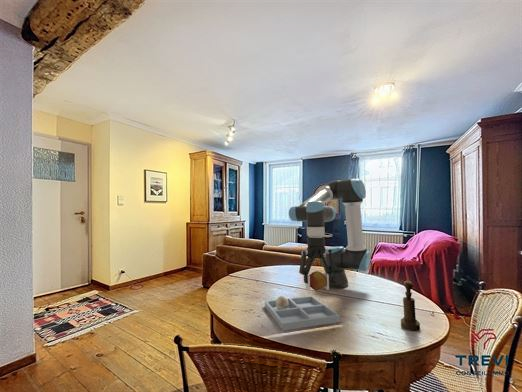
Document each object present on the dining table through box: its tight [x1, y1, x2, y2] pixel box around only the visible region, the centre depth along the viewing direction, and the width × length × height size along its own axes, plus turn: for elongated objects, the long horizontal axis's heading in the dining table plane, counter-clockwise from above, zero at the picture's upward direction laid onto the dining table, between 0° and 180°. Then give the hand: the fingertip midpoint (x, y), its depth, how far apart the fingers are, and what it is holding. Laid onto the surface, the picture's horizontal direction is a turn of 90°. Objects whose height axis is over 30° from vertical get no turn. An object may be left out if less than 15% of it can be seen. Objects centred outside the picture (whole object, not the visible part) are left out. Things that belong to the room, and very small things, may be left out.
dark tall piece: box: [400, 280, 421, 332], centre depth 99 cm, size 7×6×18 cm
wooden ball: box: [275, 295, 289, 310], centre depth 116 cm, size 6×6×6 cm
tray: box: [264, 295, 341, 333], centre depth 111 cm, size 25×25×4 cm
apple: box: [308, 270, 327, 291], centre depth 108 cm, size 8×8×8 cm
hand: (317, 289), depth 108 cm, fingers closed on apple, 8 cm apart
